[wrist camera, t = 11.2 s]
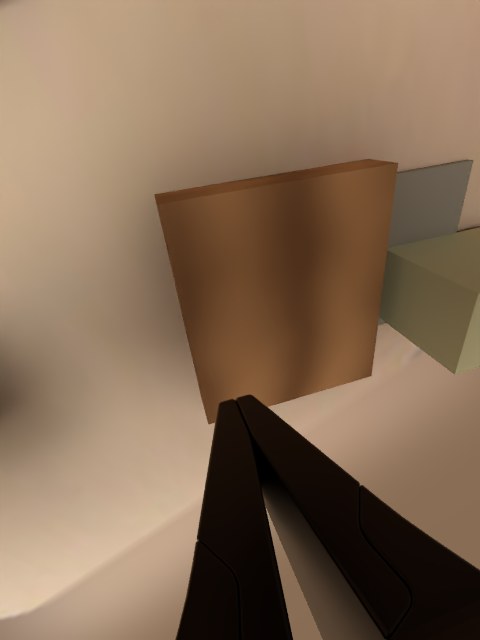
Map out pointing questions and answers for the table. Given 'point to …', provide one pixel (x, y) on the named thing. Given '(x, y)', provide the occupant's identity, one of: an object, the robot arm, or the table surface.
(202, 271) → the panel
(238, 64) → the table surface
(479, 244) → the card box
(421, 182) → the mat
